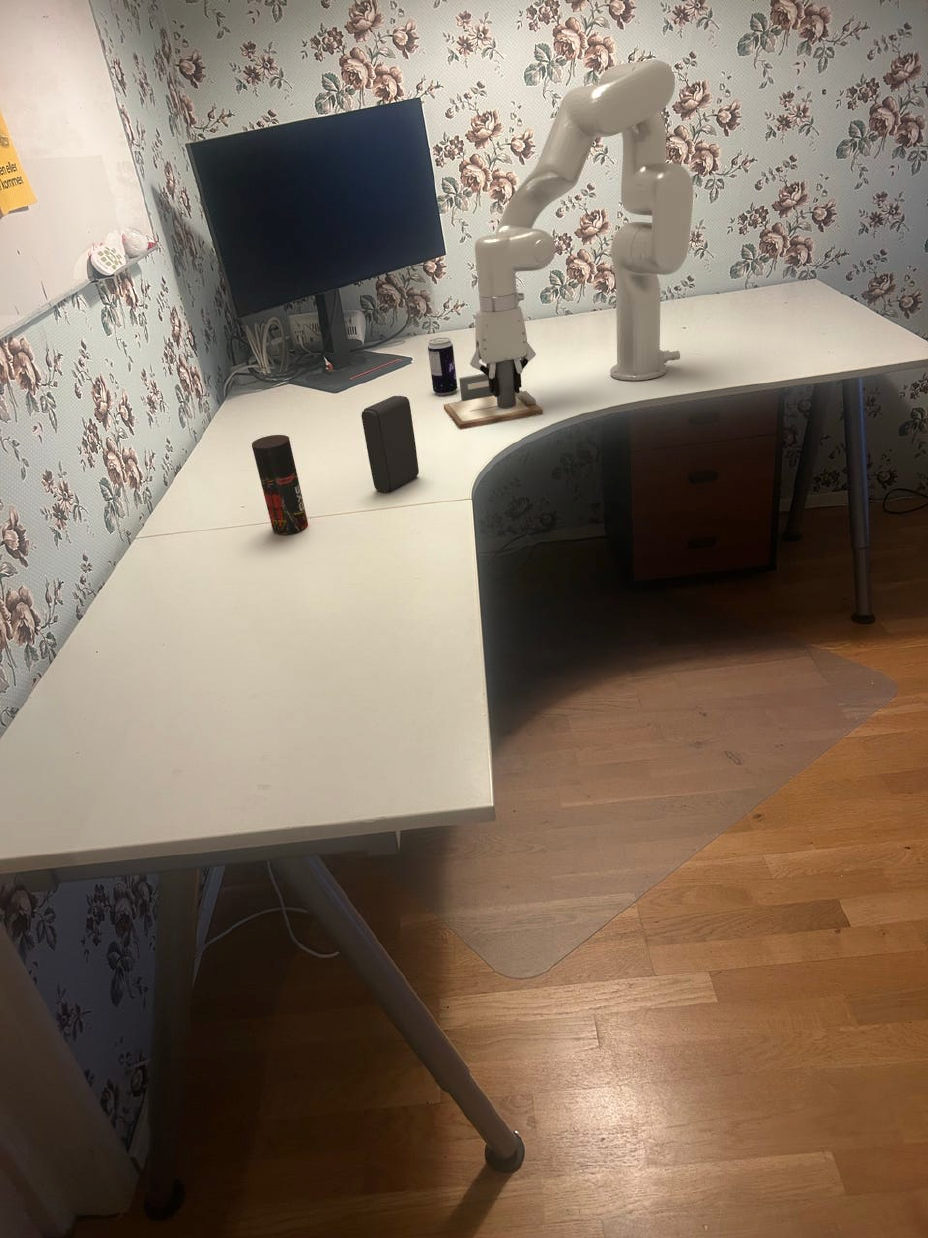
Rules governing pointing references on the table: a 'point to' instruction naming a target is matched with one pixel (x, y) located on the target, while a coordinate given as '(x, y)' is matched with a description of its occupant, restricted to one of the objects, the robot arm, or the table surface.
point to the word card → (474, 387)
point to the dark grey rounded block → (390, 443)
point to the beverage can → (442, 366)
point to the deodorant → (280, 484)
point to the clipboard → (491, 410)
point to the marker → (505, 383)
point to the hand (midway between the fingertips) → (505, 392)
